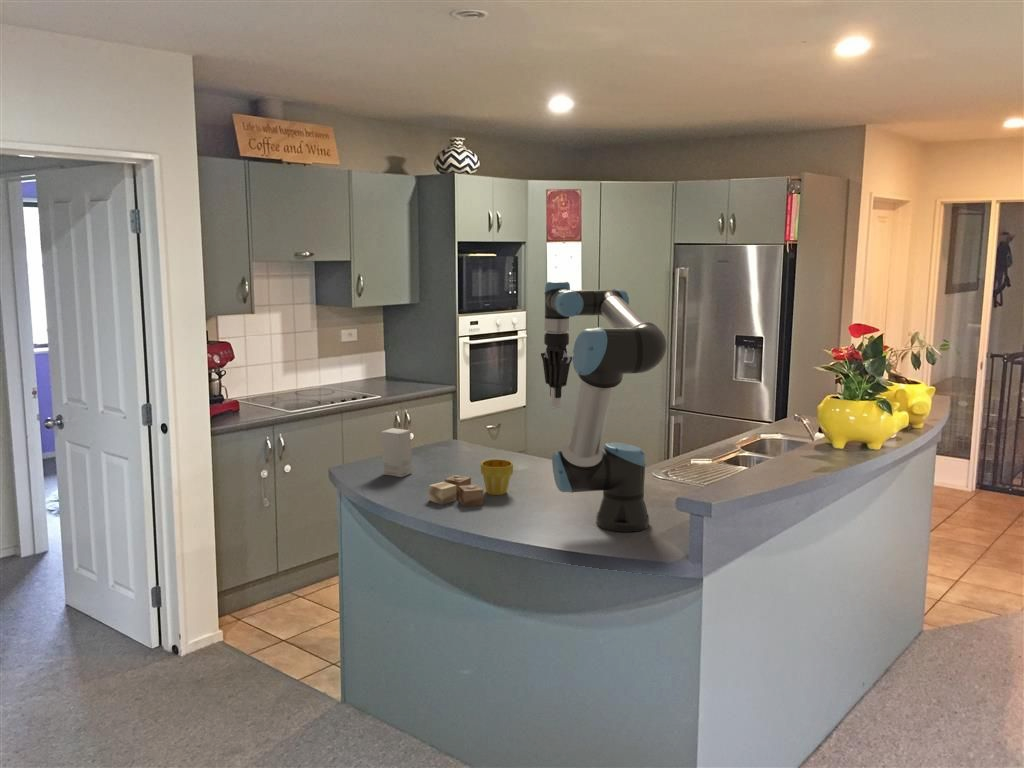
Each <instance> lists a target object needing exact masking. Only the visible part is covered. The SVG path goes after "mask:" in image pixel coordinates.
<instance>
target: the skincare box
mask: <svg viewBox="0 0 1024 768" xmlns="http://www.w3.org/2000/svg"><path fill="white" fill-rule="evenodd" d="M380 432H381V450H382V452H381V453H382V469H383V471H382V472H383V475H387V476H393V477H397V478H398V477H399V478H403V477H407V476H409V475H410V474H413V465H412V445H411V444H412V441H411V439H412V438H411V430H410V429H402V428H394V427H391V428H389V429H386V430H382V431H380Z"/></svg>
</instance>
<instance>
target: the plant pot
mask: <svg viewBox="0 0 1024 768" xmlns="http://www.w3.org/2000/svg"><path fill="white" fill-rule="evenodd" d="M480 473H481V475H482V478H483V482H484V486H485V492H486V493H487V494H488V495H491V496H503V495H505V494H507V492H508V489H509V484H510V479H511V476H512V475H513V473H514V462H512V461H510V460H508V459H507V460H506V459H502V458H501V459H500V458H498V459H497V458H496V459H493V458H492V459H487V460H483V461H481V463H480Z"/></svg>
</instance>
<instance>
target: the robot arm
mask: <svg viewBox="0 0 1024 768" xmlns="http://www.w3.org/2000/svg"><path fill="white" fill-rule="evenodd" d="M544 286H545V287H544V331H545V332H544V340H543V341H544V342H543V343H544V344H543V345H545V346H546V348H545V352H541V353H540V357H541V359H542V366H543V373H544V381H545V384H547V385H548V386H549V395H550V409H553V410H554V409H560V408H561V398H562V388H563V387H566V386H567V384H568V376H569V372H570V367H571V363H572V364H573V369H574V371H575V373H577V376H578V378H579V379H580V380H581V382H580V386H579V391H578V395H577V400H576V406H575V410H574V414H573V419H572V424H571V429H570V433H569V438H568V439H566V441H564V442H563V443H562V445H561V449H560V450H556V451H553V453H552V457H551V462H552V463H551V464H552V465H551V466H552V473H553V478H554V482H555V485H556V488H557V490H558V491H560V492H561V493H572V494H573V493H585V492H601V491H603V492H602V499H601V503H600V505H599V509H598V511H597V513H596V517H595V518H596V521H595V522H596V524H597V526H598V527H600V528H601V529H604V530H607V531H612V532H620V533H630V532H629V531H635V532H638V531H637V530H641V529H644V528H646V527H647V528H649V526H650V516H649V514H648V510H647V506H646V502H645V499H644V498H645V496H644V495H645V494H644V493H645V477H646V475H645V473H646V455H645V452H644V450H643V449H642V448H640V447H638V446H636V445H633V444H628V443H623V442H622V443H621V442H606V443H605V444H604V445H603V449H602V447H601V443H602V442H601V441H602V437H603V434H604V430H605V426H606V421H607V418H608V413H609V409H610V405H611V400H612V397H613V393H614V388H617V387H618V386H619V385H621V383H622V380H623V376H624V375H625V374H627V375H628V374H642V373H645V372H646V373H647V372H649V371H651V370H653V369H654V368H656V367H657V366H658V365H659V364H660V363H661V362H662V360H663V359H664V358H665V354H666V350H667V339H666V337H665V335H664V333H663V331H662V330H661V329H660V328H659V327H658V326H657V325H655V323H652V322H648V321H646V320H645V318H643V317H642V316H641V315H640V314H638V312H637V311H636V310H635V309H634V308H633V307H631V306H630V299H629V296H628V295H629V294H628V292H627V291H626V290H623V289H615V288H614V289H571V285H570V283H569V282H568V281H557V280H556V281H554V280H553V281H547V282H546V283H545V285H544ZM576 316H577V317H578V316H579V317H580V316H582V317H584V316H601V317H603V318H604V319H605V320H606V321H607V322H608V323H609V324H610V325H611V326H612V328H611V327H610V328H607V327H606V328H604V327H601V326H598V327H597V326H596V327H594V328H585V329H583V330H582V331H580V332H579V334H578V335H577V337H576V339H575V342H574V345H573V350H572V353H573V355H572V356H569V355H568V351H567V346H569V343H570V334H569V331H570V317H571V318H572V317H576ZM648 525H649V526H648ZM647 528H646V529H647ZM644 530H645V529H644ZM621 531H622V532H621ZM641 531H642V530H641Z"/></svg>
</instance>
